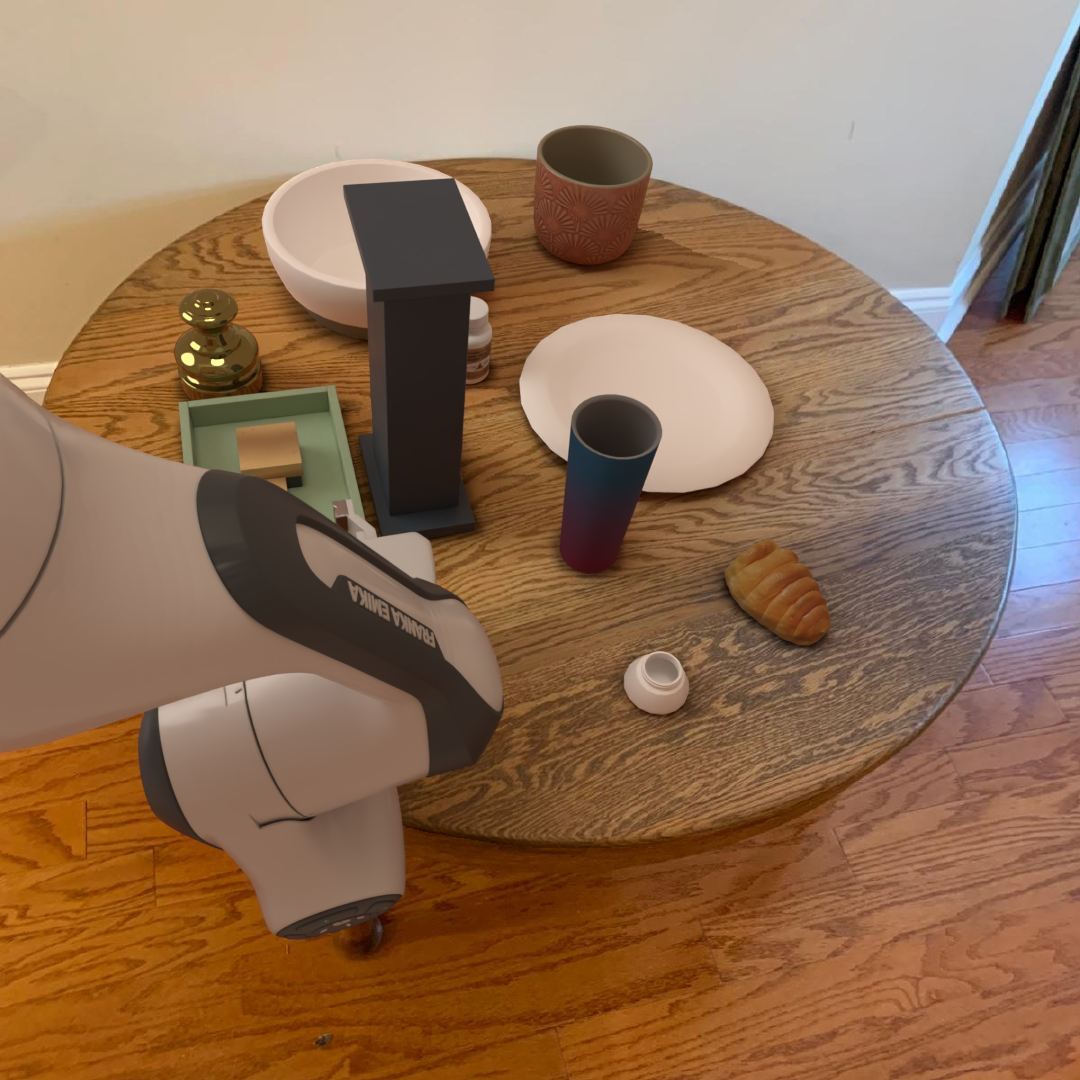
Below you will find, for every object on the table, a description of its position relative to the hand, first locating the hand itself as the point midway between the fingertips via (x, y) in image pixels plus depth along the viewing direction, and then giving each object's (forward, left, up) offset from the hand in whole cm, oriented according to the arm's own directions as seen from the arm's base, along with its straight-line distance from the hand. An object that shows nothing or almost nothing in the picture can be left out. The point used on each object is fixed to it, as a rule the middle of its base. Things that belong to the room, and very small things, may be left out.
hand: (276, 514), depth 70 cm
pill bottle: (+20, +23, -10) cm, 32 cm away
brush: (0, +7, -9) cm, 12 cm away
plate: (+36, +15, -10) cm, 40 cm away
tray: (0, +9, -9) cm, 13 cm away
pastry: (+39, -9, -10) cm, 41 cm away
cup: (+25, -1, -10) cm, 27 cm away
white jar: (+26, -15, -10) cm, 31 cm away
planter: (+38, +42, -10) cm, 58 cm away
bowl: (+14, +37, -10) cm, 41 cm away
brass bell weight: (-3, +25, -10) cm, 27 cm away
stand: (+12, +9, -9) cm, 18 cm away
